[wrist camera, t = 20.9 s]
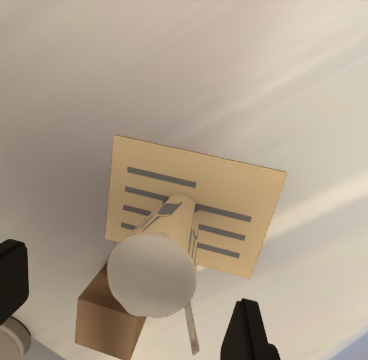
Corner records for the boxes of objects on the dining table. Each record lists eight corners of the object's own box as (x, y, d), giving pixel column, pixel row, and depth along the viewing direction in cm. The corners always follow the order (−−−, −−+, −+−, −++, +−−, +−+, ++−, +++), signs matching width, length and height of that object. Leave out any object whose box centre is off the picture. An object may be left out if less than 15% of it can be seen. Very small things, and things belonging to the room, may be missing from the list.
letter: (106, 237, 20) (104, 239, 20) (115, 134, 17) (113, 135, 17) (249, 276, 19) (250, 279, 19) (286, 172, 16) (287, 173, 16)
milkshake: (193, 249, 19) (166, 379, 9) (145, 214, 19) (67, 309, 9) (225, 212, 17) (231, 323, 8) (173, 174, 17) (115, 240, 8)
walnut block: (105, 296, 23) (74, 342, 18) (109, 258, 21) (77, 298, 16) (148, 310, 22) (129, 362, 17) (156, 273, 21) (137, 317, 16)
